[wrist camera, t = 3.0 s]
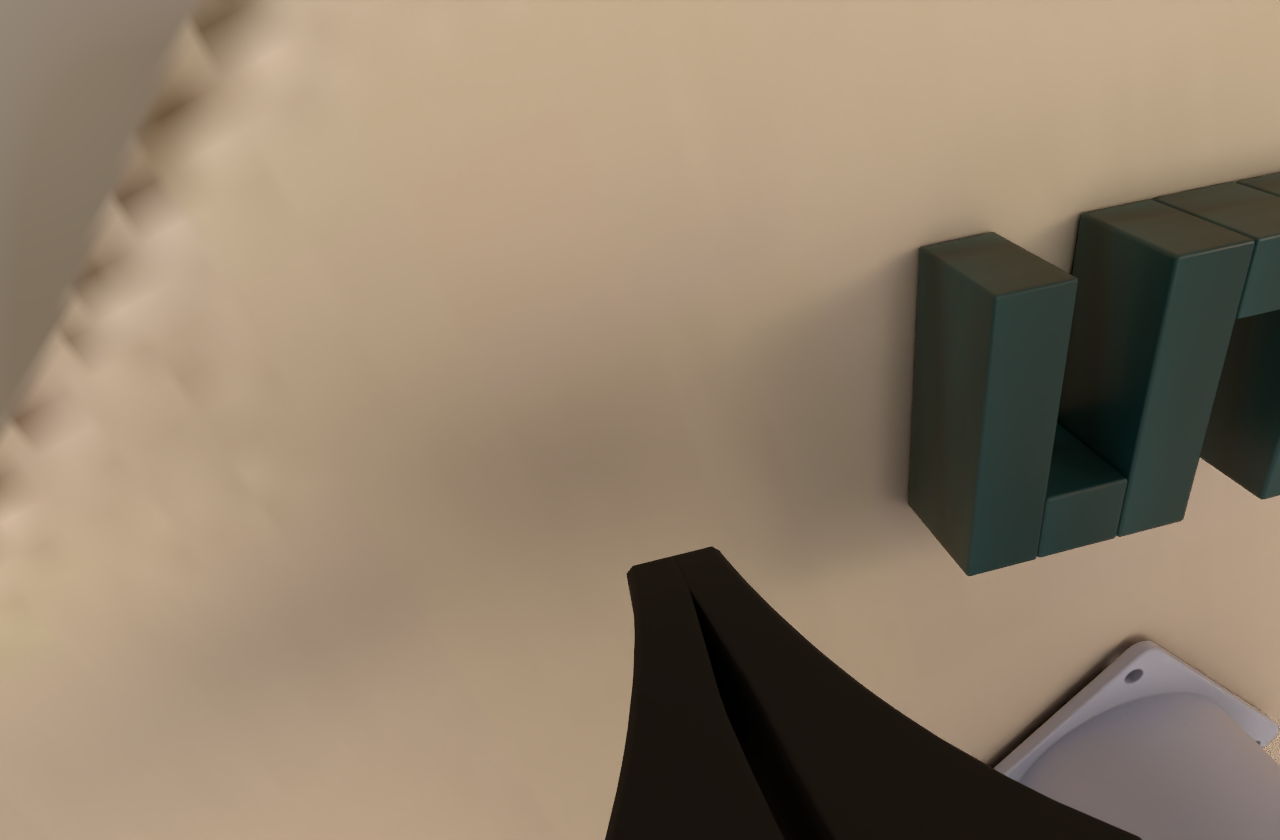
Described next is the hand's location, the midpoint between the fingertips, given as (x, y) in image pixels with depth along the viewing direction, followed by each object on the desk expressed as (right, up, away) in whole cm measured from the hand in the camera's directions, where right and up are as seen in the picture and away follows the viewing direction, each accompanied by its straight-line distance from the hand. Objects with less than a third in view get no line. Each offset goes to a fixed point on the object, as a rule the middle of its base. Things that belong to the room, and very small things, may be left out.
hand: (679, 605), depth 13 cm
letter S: (+9, +4, +5) cm, 11 cm away
